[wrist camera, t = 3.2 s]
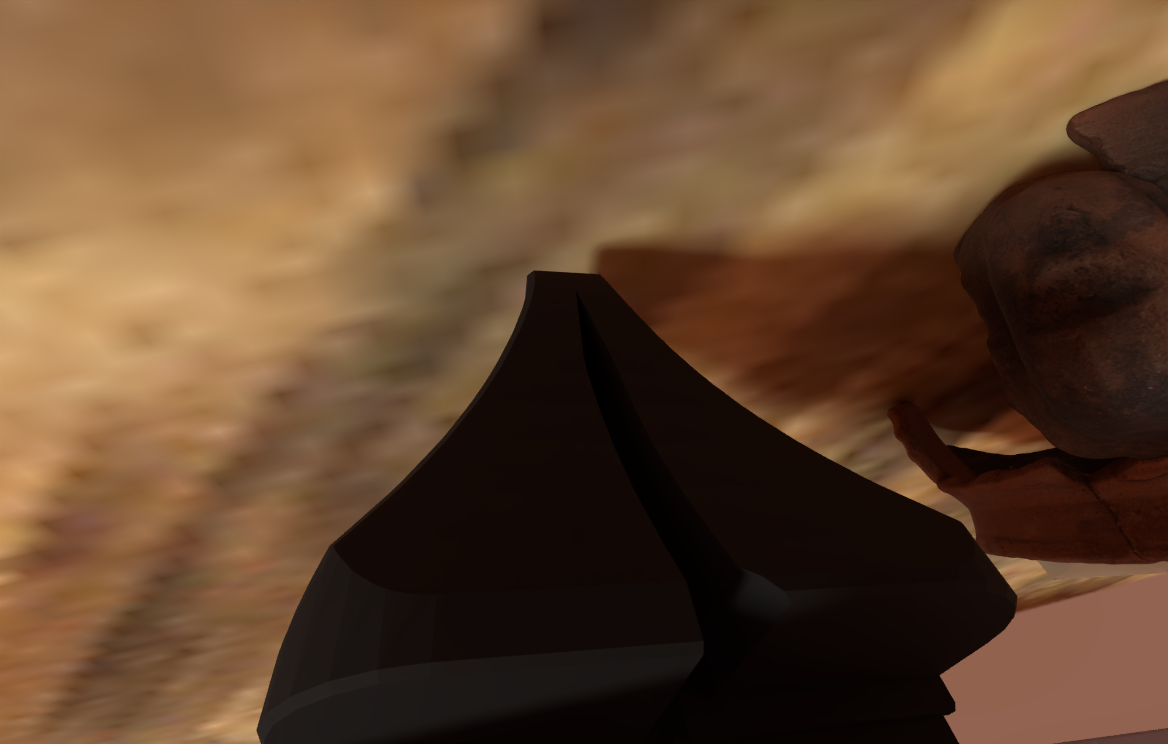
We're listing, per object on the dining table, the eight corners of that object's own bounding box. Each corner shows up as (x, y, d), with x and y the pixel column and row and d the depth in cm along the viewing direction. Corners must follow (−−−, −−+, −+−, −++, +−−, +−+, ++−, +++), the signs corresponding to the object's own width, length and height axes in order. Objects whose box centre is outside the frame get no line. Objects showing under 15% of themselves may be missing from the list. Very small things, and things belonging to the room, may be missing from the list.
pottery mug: (1365, 131, 12) (1626, 503, 9) (925, 304, 19) (1006, 539, 17) (1366, -272, 5) (2271, 649, 3) (691, 229, 13) (767, 602, 10)
